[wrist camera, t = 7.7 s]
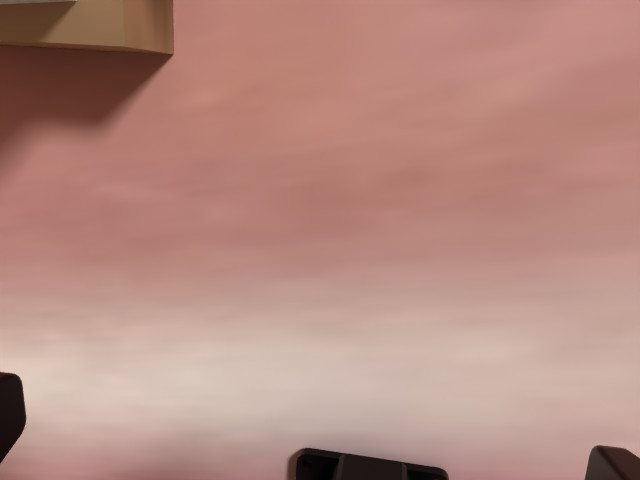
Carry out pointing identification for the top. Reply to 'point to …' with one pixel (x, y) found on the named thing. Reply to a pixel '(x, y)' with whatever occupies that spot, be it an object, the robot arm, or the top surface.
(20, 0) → the grey block
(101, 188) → the top surface
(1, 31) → the walnut slab
